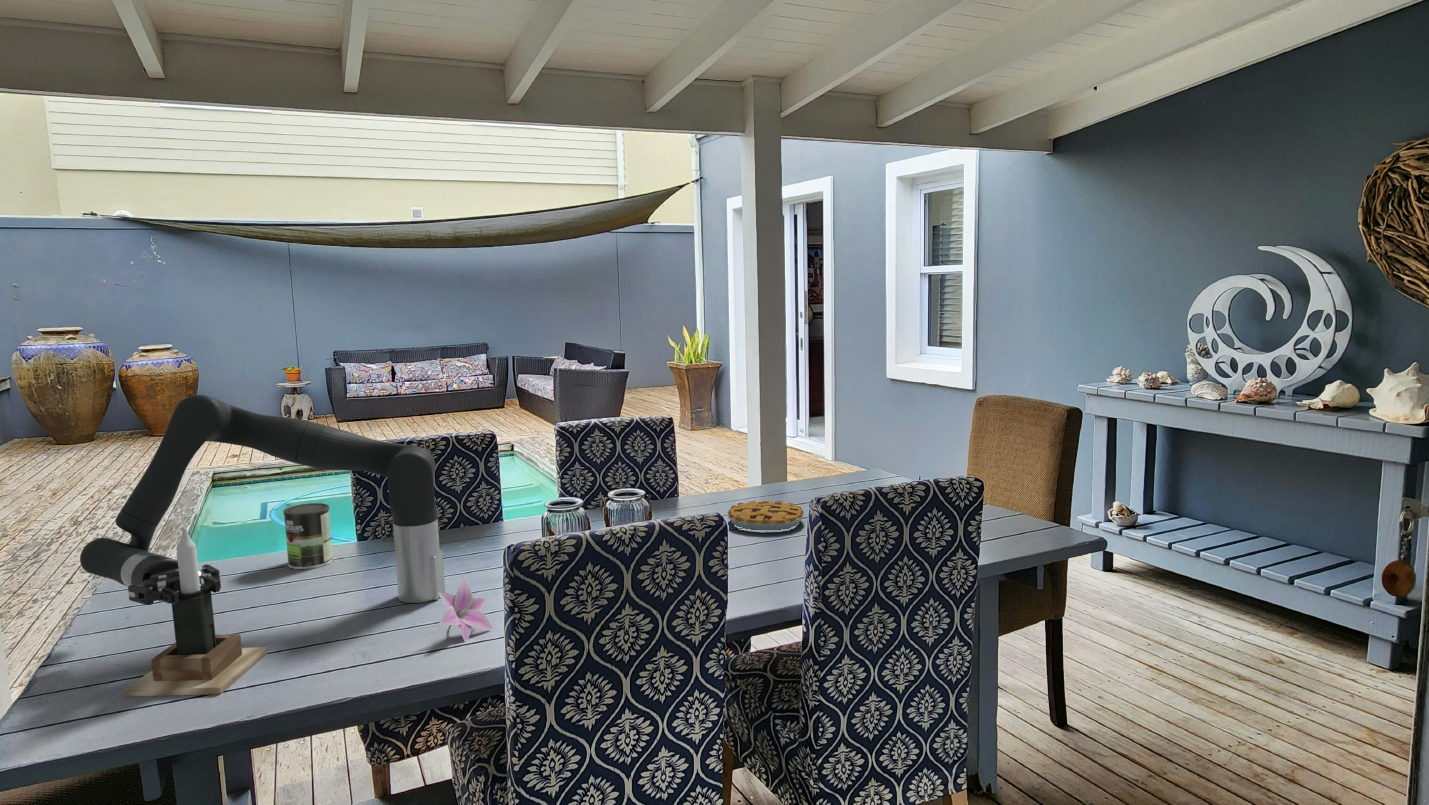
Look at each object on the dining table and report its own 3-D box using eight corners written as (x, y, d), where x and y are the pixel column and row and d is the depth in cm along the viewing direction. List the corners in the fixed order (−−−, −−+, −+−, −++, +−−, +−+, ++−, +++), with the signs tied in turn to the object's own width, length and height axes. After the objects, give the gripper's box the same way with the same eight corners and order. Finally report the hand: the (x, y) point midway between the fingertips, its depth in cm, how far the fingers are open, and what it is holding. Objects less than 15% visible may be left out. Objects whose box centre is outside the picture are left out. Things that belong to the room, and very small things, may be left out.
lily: (430, 654, 162) (449, 615, 159) (416, 612, 171) (434, 574, 168) (488, 655, 170) (507, 618, 167) (472, 615, 178) (490, 579, 176)
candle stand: (267, 653, 161) (264, 627, 160) (220, 694, 145) (217, 665, 144) (181, 655, 161) (178, 629, 160) (125, 696, 145) (121, 667, 144)
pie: (721, 534, 232) (721, 516, 231) (732, 512, 253) (732, 496, 252) (802, 537, 228) (802, 519, 227) (806, 515, 250) (806, 498, 249)
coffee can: (306, 572, 206) (301, 515, 204) (279, 566, 211) (273, 511, 209) (342, 559, 215) (338, 505, 213) (315, 554, 220) (310, 501, 218)
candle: (190, 656, 155) (176, 523, 151) (220, 655, 155) (206, 522, 152) (175, 669, 150) (160, 532, 146) (206, 667, 150) (191, 531, 147)
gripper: (106, 566, 152) (150, 584, 143) (191, 545, 164) (237, 560, 155) (111, 606, 153) (155, 627, 144) (195, 582, 165) (241, 599, 156)
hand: (197, 592), depth 149 cm, fingers closed on candle, 6 cm apart
